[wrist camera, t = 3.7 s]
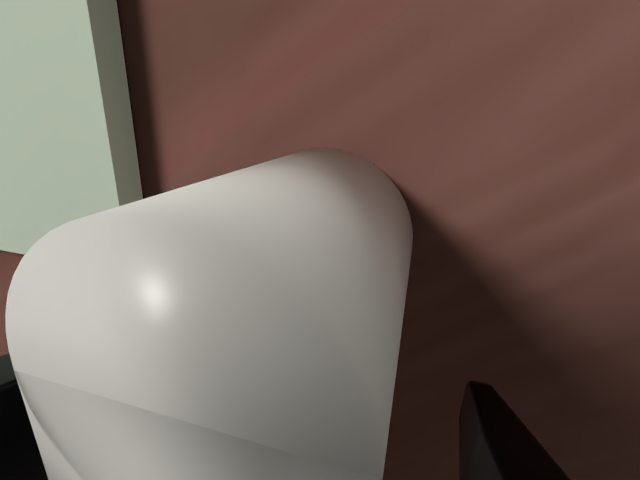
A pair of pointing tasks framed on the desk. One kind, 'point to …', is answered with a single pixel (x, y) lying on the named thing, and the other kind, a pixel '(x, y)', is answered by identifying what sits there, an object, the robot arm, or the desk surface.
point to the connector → (219, 328)
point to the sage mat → (62, 117)
